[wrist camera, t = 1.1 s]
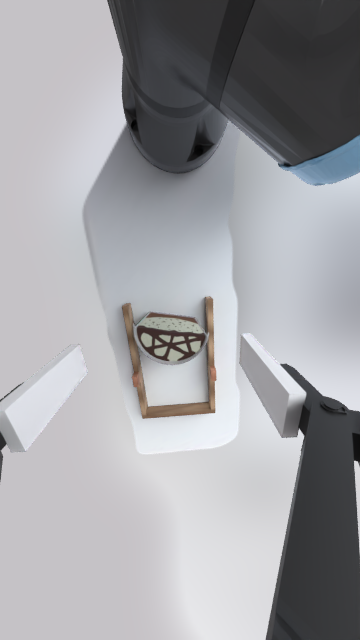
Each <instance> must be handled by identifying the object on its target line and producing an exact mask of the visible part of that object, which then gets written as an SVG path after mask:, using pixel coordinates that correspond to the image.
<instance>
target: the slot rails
mask: <svg viewBox="0 0 360 640" xmlns="http://www.w3.org/2000/svg"><path fill="white" fill-rule="evenodd" d="M122 309H123V315H124V320H125V325H126V331H127V336H128V342H129V347H130V353H131V358H132V363H133V369H134V374H133V376H132V379H133V385H134V387H137V391H138V396H139V401H140V407H141V412H142V418H143V419H144V418H157V417H169V416H182V415H194V414H207V413H215V381H216V369H215V366H214V328H213V299H212V298H211V297H206V327H207V334H208V332H209V337H208V341H207V357H208V387H209V402H203V403H191V404H178V405H166V406H153V407H148V405H147V399H146V393H145V387H144V381H143V375H142V369H141V363H140V357H139V351H138V345H137V343H136V340H135V337H134V332H133V323H134V321H133V315H132V309H131V303H126V304H124V305H123V306H122Z"/></svg>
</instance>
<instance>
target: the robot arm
mask: <svg viewBox="0 0 360 640" xmlns="http://www.w3.org/2000/svg"><path fill="white" fill-rule="evenodd" d="M107 1H108V4H109V8H110V12H111V15H112V19H113V23H114V27H115V30H116V34H117V38H118V41H119V45H120V49H121V52H122V56H123V72H122V100H123V108H124V113H125V117H126V121H127V124H128V127H129V130H130V133H131V135H132V138H133V140H134V142H135V144H136V146H137V147H138V149H139V150H140V152H141V153H142V154H143V156H144V157H145V158H146V159H147V160H148V161H149V162H151V163H152V164H153V165H155V166H156V167H158V168H160V169H162V170H165V171H168V172H173V173H182V172H188V171H191V170H193V169H196V168H197V167H199V166H201V165H202V164H203V163H205V162H206V161H207V160H208V159H209V158H210V157H211V156H212V154H213V153H214V152H215V150H216V149H217V147H218V145H219V143H220V141H221V139H222V136H223V134H224V131H225V128H226V125H227V122H228V119H229V120H230V121H231V122H232V123H233V124H234V125H236V126H237V127H238V128H239V129H240V130H241V131H242V132H244V133H245V134H246V135H247V136H248V137H249V138H250V139H252V140H253V141H254V142H255V143H256V144H257V145H259V146H260V147H261V148H262V149H263V150H264V151H265V152H267V153H268V154H269V155H270V156H271V157H272V158H273V159H275V160H276V161H277V162H278V165H279V167H281V168H282V169H284V170H287V171H291V172H292V173H293V174H295V175H296V176H297V177H299V178H300V179H301V180H303V181H304V182H306V183H307V184H310V185H315V186H317V185H324V184H332V183H336V182H338V181H341V180H344V179H346V178H349V177H351V176H353V175H355V174H357V173H359V172H360V0H107ZM239 363H240V365H241V367H242V369H243V370H244V372H245V374H246V376H247V377H248V379H249V381H250V383H251V385H252V386H253V388H254V390H255V391H256V393H257V395H258V397H259V399H260V400H261V402H262V404H263V406H264V407H265V409H266V411H267V413H268V414H269V416H270V418H271V420H272V421H273V423H274V425H275V427H276V428H277V430H278V432H279V434H280V436H281V437H282V438H285V437H286V438H287V437H297V435H298V430H299V429H300V430H301V431H302V433H303V434H304V440H303V445H302V449H301V456H300V462H299V467H298V473H297V477H296V483H295V488H294V493H293V498H292V504H291V509H290V515H289V519H288V525H287V531H286V535H285V541H284V546H283V551H282V556H281V562H280V567H279V572H278V578H277V583H276V588H275V593H274V598H273V604H272V610H271V614H270V620H269V625H268V631H267V635H266V640H360V554H359V537H358V521H357V505H356V488H355V472H354V461H358V463H359V465H360V412H359V411H353V410H349V409H348V408H347V407H346V406H345V405H343V404H342V403H340V402H339V401H337V400H335V399H332V398H329V397H325V396H322V395H321V394H320V393H319V392H318V391H317V390H316V389H315V388H314V387H313V386H312V385H311V384H310V383H309V382H308V381H307V380H305V378H304V377H303V376H302V375H300V373H299V372H298V371H297V370H295V368H293V367H291V366H289V365H287V364H279V363H278V362H277V361H276V360H275V359H274V358H273V357H272V356H271V355H270V354H269V352H268V351H267V350H266V349H265V348H264V347H263V346H262V345H261V344H260V343H259V342H258V341H257V340H256V339H255V337H254V336H253V335H252V334H251V333H248V334H241V343H240V362H239ZM87 373H88V371H87V368H86V365H85V361H84V357H83V354H82V350H81V347H80V345H79V344H75V345H70V346H68V347H67V348H66V349H65V350H63V351H62V352H61V353H60V354H58V355H57V356H56V357H55V358H54V359H52V360H51V361H50V362H49V363H47V364H46V365H45V366H44V367H42V368H41V369H40V370H39V371H38V372H37V373H35V374H34V375H33V376H31V377H30V378H29V379H28V380H27V381H25V382H23V383H22V384H20V385H18V386H17V387H16V388H15V389H13V390H12V391H11V392H10V393H8V394H7V395H6V396H4V398H2V399H1V400H0V480H1V470H2V460H3V455H2V453H1V450H2V448H3V447H4V446H5V445H6V444H7V446H8V447H9V449H10V451H11V452H26V451H27V449H28V448H29V447H30V445H31V444H32V443H33V442H34V440H35V439H36V438H37V437H38V435H39V434H40V433H41V431H42V430H43V429H44V428H45V426H46V425H47V424H48V423H49V421H50V420H51V419H52V417H53V416H54V415H55V414H56V412H57V411H58V410H59V408H60V407H61V406H62V405H63V404H64V402H65V401H66V400H67V398H68V397H69V396H70V395H71V393H72V392H73V391H74V390H75V388H76V387H77V386H78V384H79V383H80V382H81V381H82V379H83V378H84V377H85V376H86V374H87Z"/></svg>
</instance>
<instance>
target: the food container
mask: <svg viewBox="0 0 360 640" xmlns="http://www.w3.org/2000/svg"><path fill="white" fill-rule="evenodd" d="M133 332H134V337H135V340H136V343H137V345H138V346H139V348H140V349H141V351H142V352H143V353H144V354H145V355H146V356H147V357H149V358H150V359H152V360H154V361H156V362H158V363H161V364H166V365H177V364H182V363H185V362H188V361H190V360H191V359H193V358H194V357H196V356H197V355H198V354H199V353H200V352H201V351H202V349H203V348H204V347H205V345H206V343H207V341H208V337H209V332H208V334H206V333H205V331H204V330H203V328H202V327H201V325H200V324H199V322H198V321H197V319H196V318H195V317H190V316H182V315H174V314H166V313H158V312H149V313H148V314H147V315H146V316H145V317H144V318H143V319H142V320H141V321H140V322H139V323H138V324H137V325H136V326H135V323H133Z"/></svg>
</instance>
